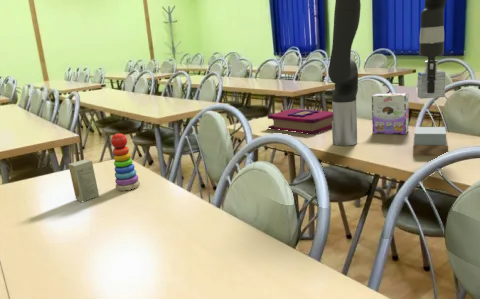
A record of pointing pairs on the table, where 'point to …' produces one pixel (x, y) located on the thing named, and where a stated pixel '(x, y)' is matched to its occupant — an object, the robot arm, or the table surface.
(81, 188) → the skincare box
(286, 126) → the book
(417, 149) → the walnut base block
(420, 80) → the medicine box
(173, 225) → the table surface
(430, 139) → the slate top block
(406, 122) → the candy box
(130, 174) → the stacking toy
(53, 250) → the table surface
